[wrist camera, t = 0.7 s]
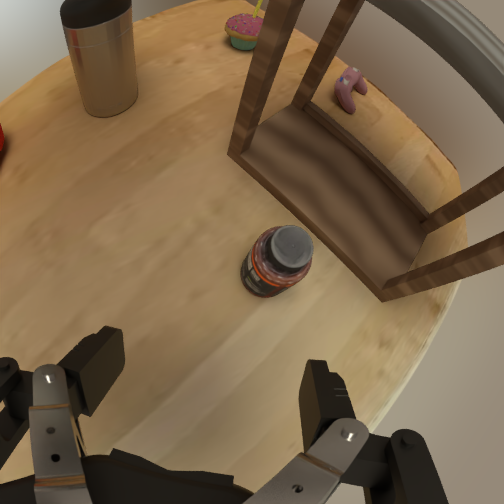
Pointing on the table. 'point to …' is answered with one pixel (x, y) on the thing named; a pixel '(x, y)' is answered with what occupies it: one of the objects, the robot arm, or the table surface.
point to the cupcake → (244, 29)
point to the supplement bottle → (277, 261)
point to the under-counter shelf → (365, 150)
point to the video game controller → (349, 88)
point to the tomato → (1, 138)
